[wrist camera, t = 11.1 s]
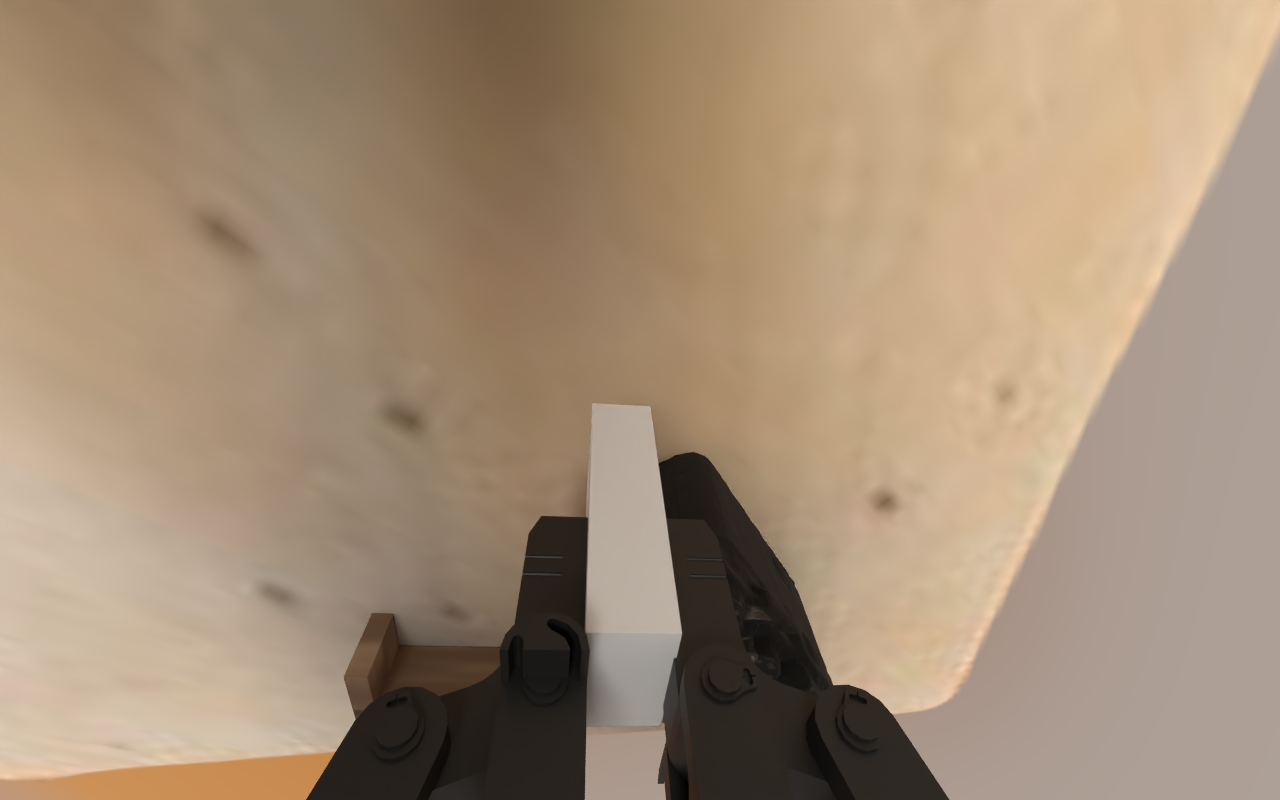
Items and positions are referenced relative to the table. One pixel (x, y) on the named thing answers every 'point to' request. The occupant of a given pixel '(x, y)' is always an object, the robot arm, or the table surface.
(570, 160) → the table surface
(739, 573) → the camera
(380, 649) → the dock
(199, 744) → the table surface
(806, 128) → the table surface
